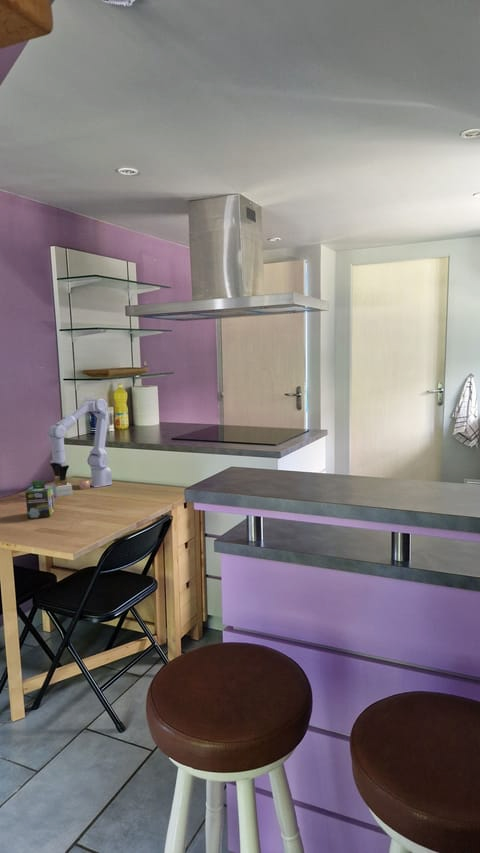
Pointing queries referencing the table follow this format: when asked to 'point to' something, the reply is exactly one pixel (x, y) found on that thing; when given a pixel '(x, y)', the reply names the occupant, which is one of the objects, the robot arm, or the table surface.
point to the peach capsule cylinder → (84, 484)
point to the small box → (62, 490)
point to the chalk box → (40, 500)
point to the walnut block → (59, 481)
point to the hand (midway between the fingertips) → (60, 478)
